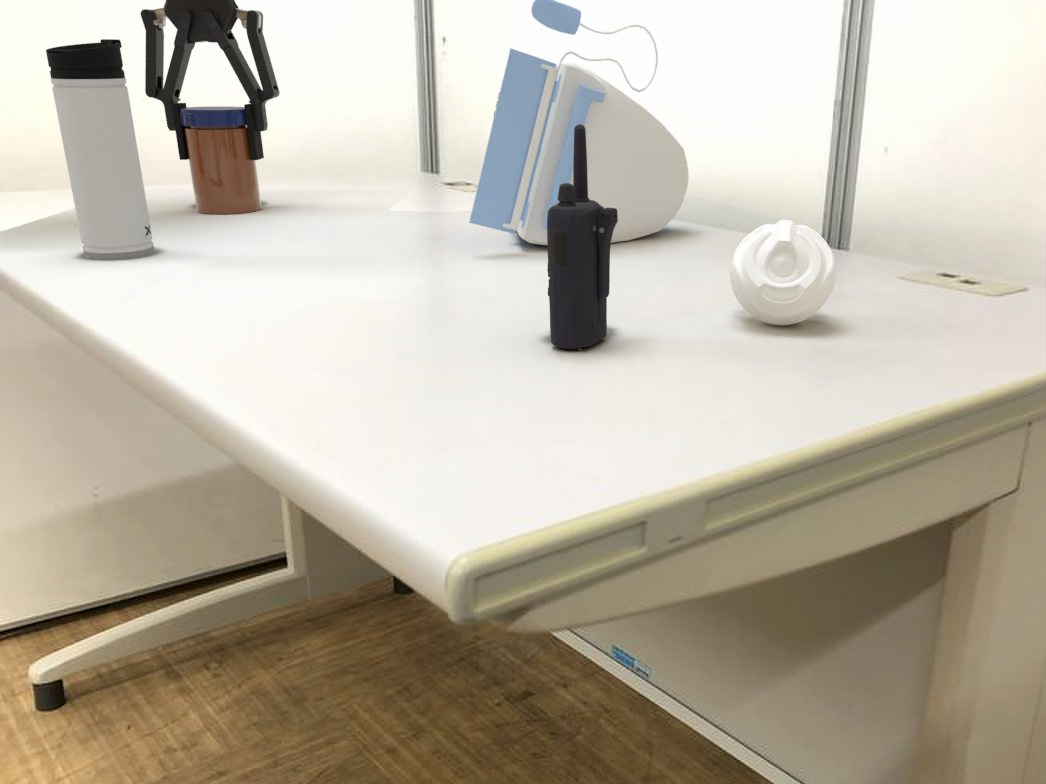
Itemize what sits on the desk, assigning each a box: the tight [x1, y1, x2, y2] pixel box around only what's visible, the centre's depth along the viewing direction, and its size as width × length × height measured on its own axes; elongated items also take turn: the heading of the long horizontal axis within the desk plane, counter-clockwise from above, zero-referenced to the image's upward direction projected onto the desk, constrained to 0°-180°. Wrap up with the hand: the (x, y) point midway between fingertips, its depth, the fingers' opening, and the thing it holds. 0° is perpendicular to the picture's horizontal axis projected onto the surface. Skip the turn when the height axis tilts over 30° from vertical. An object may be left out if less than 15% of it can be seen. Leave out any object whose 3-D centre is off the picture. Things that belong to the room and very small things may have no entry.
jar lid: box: [180, 106, 247, 127], centre depth 130 cm, size 8×8×2 cm
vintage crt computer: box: [468, 0, 689, 246], centre depth 115 cm, size 25×23×17 cm
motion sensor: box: [729, 219, 837, 326], centre depth 81 cm, size 8×8×8 cm
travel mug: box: [45, 38, 155, 261], centre depth 100 cm, size 6×7×20 cm
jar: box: [184, 125, 262, 215], centre depth 132 cm, size 8×8×12 cm
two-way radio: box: [546, 124, 618, 351], centre depth 74 cm, size 6×4×15 cm
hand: (222, 158), depth 132 cm, fingers closed on jar lid, 8 cm apart
